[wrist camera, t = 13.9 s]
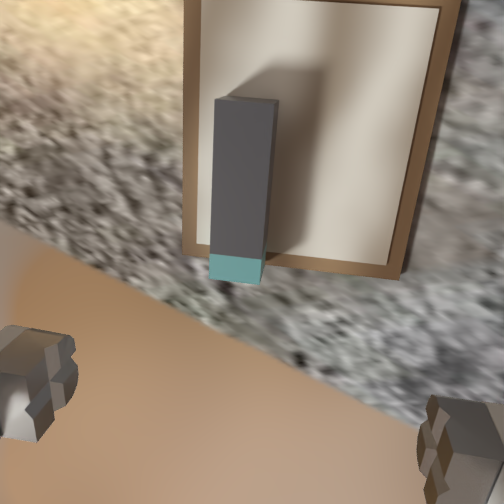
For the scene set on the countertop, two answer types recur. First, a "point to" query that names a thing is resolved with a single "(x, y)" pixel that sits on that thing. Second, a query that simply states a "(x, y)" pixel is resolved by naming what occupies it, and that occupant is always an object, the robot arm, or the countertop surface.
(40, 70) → the countertop surface
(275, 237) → the board
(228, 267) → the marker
